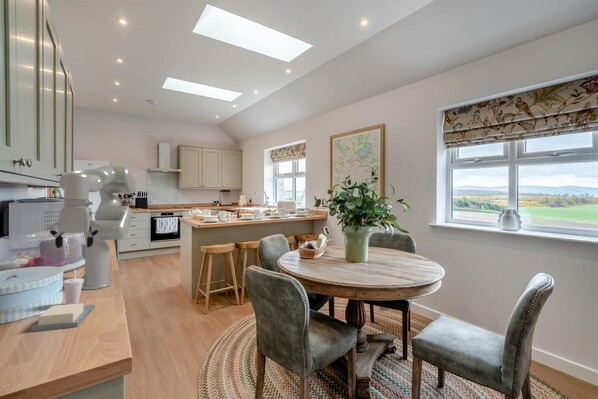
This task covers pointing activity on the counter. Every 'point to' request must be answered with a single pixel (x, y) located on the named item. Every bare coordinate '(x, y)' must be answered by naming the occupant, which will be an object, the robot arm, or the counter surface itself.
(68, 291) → the smoothie
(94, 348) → the counter surface
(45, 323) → the base board
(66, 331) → the counter surface
